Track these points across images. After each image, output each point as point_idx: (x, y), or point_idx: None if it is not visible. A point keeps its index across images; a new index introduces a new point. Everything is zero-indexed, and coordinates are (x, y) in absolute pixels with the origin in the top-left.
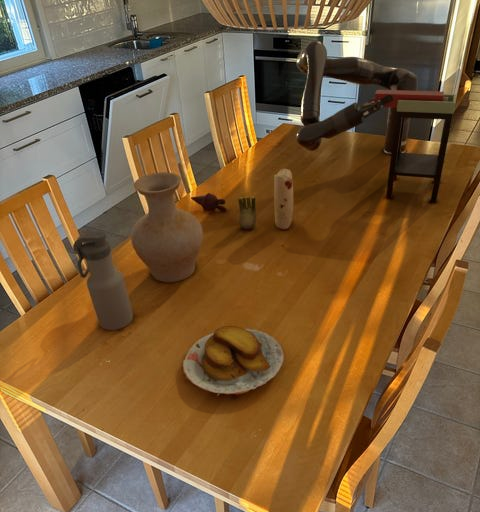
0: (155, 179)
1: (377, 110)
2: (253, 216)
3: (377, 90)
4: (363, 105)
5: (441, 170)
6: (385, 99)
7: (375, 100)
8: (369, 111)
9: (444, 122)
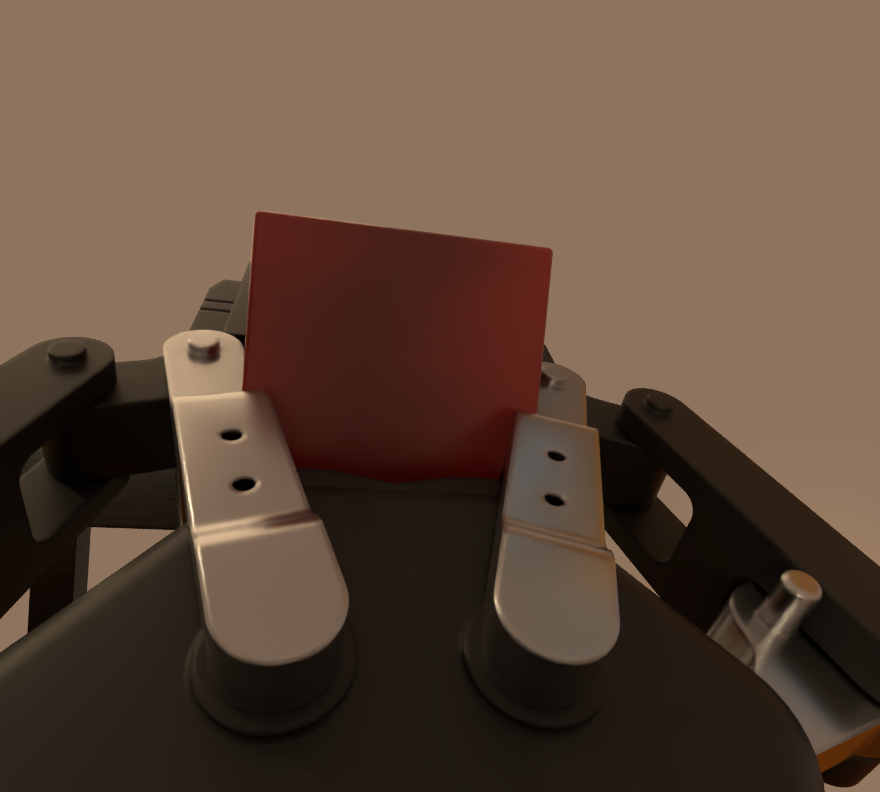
0: None
1: (658, 519)
2: None
3: (312, 221)
4: (616, 610)
5: None
6: (543, 351)
7: (533, 393)
8: (722, 604)
9: (75, 562)
